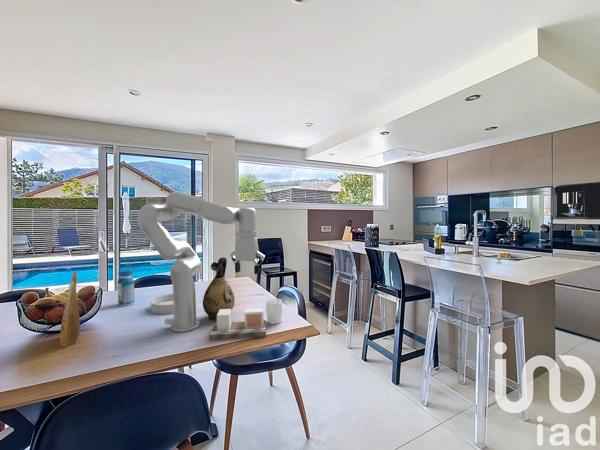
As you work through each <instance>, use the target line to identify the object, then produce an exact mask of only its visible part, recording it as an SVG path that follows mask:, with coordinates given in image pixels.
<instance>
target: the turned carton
mask: <svg viewBox="0 0 600 450" xmlns="http://www.w3.org/2000/svg"><path fill="white" fill-rule="evenodd" d="M231 322H232V310H231V309H220V310H219V312H218V314H217V320H216V323H217V331H226V330H230V327H231V324H232V323H231Z"/></svg>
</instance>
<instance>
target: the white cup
mask: <svg viewBox="0 0 600 450" xmlns="http://www.w3.org/2000/svg"><path fill="white" fill-rule="evenodd" d="M265 308H266V309H265V311H266V323H268V324H271V325H277V324H280V323H282V316H283V300H282V299H281V298H270V299H267V300H265Z"/></svg>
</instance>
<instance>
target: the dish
mask: <svg viewBox="0 0 600 450" xmlns="http://www.w3.org/2000/svg"><path fill="white" fill-rule="evenodd" d="M150 311H152V313H153V312H154V313H153V314H157V313H160V314H159V315H168V313H170V314H174V304H173V293H169V294H164V295H161V296H160V295H159V296H157V297H155V298H153V299H152V300H151V301H150Z"/></svg>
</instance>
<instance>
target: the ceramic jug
mask: <svg viewBox="0 0 600 450" xmlns="http://www.w3.org/2000/svg"><path fill="white" fill-rule="evenodd" d="M227 260H228V259H227V258H226V257H224V256H223V257H220V258H219V259H218V260H217V262H215V261H214V262H212V263H211V264H210V269H211V270H212V271H214V272H215V273H216V274H215V276H214V278H213V279H212V280H211V282H210V284H208V286H207V288H206V290H205V292H204V296H203V300H202V308H203V310H204V312H205V314H206V315H207V317H208V319H209V320H210V321H213V322H214V321H217V314H218V312H219V310H220V309H231V311H232V310H233V309H234V306H235V304H236V303H235V302H236V301H235V299H236V298H235V294H234V291H233V289H232V287H231V286H230V283H229V282H228V281H227V280H226V277H225V274H226V269H227V263H228V261H227Z"/></svg>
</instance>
